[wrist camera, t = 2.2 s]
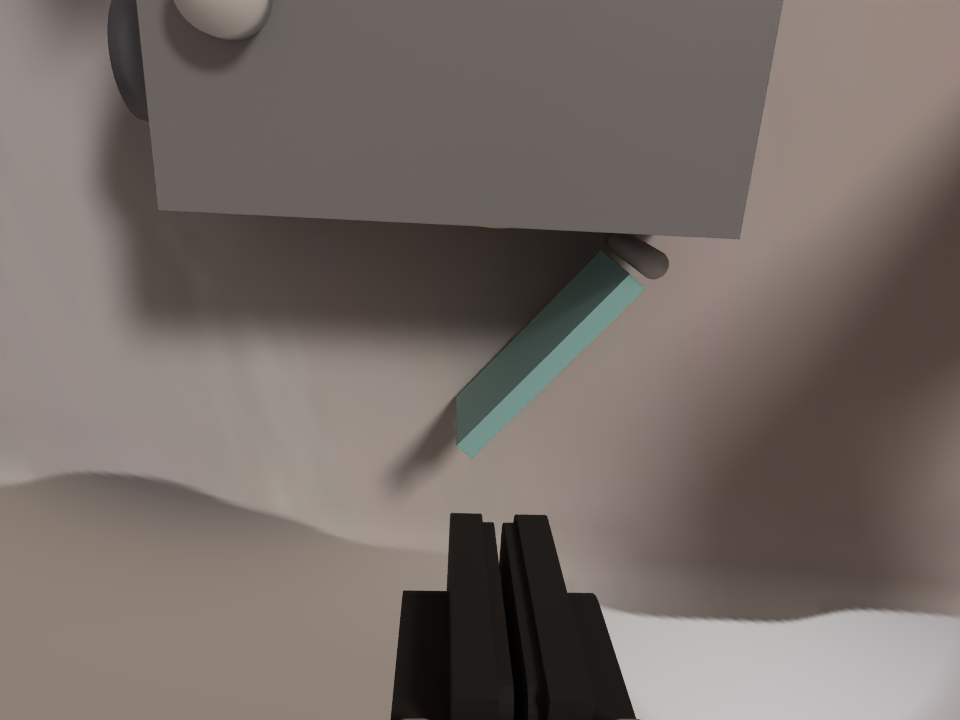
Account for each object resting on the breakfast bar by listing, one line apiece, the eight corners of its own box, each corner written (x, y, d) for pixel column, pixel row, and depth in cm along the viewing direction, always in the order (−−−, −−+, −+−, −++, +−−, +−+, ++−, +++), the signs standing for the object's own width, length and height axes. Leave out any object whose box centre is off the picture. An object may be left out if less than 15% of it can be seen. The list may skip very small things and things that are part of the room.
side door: (620, 224, 28) (655, 244, 23) (644, 248, 28) (683, 273, 23) (454, 394, 30) (454, 444, 25) (478, 414, 30) (483, 468, 25)
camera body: (707, -34, 25) (819, -105, 17) (669, 224, 28) (749, 260, 20) (168, -73, 24) (33, -167, 16) (191, 200, 27) (88, 229, 19)
